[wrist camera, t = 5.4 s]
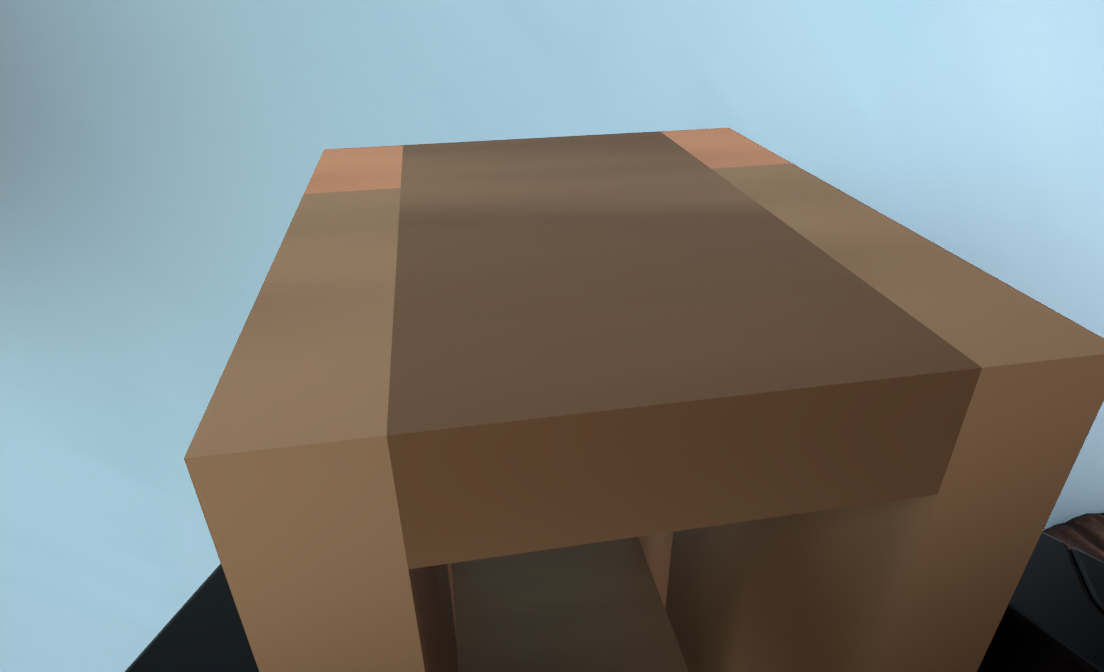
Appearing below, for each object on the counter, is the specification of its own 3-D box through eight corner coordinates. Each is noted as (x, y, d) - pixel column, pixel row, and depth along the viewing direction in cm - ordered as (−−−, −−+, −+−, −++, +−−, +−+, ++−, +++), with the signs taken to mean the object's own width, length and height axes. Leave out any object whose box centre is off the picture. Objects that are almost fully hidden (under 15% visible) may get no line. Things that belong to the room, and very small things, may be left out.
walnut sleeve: (679, 558, 11) (849, 945, 7) (402, 599, 10) (395, 1054, 6) (728, 128, 8) (1125, 352, 3) (324, 149, 7) (184, 457, 3)
